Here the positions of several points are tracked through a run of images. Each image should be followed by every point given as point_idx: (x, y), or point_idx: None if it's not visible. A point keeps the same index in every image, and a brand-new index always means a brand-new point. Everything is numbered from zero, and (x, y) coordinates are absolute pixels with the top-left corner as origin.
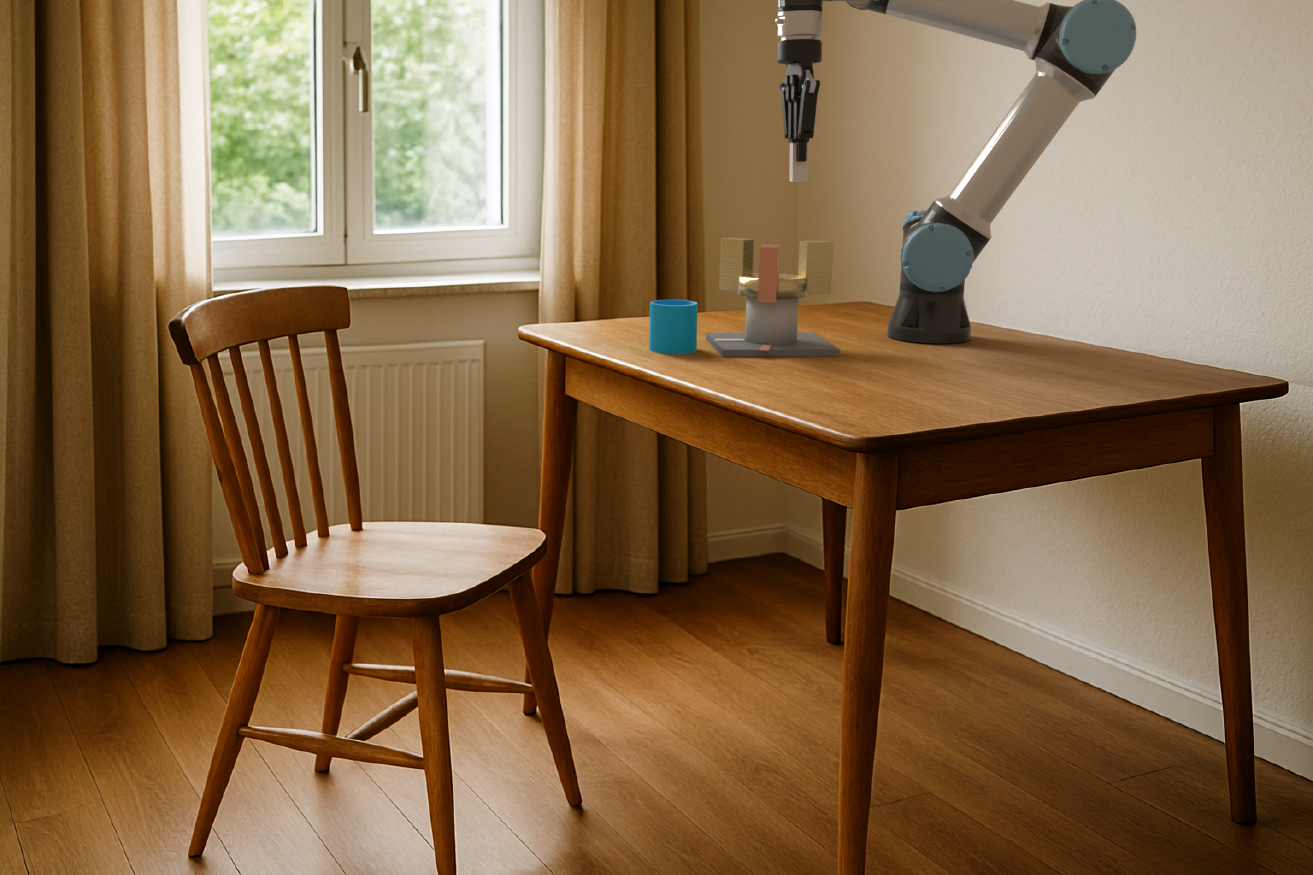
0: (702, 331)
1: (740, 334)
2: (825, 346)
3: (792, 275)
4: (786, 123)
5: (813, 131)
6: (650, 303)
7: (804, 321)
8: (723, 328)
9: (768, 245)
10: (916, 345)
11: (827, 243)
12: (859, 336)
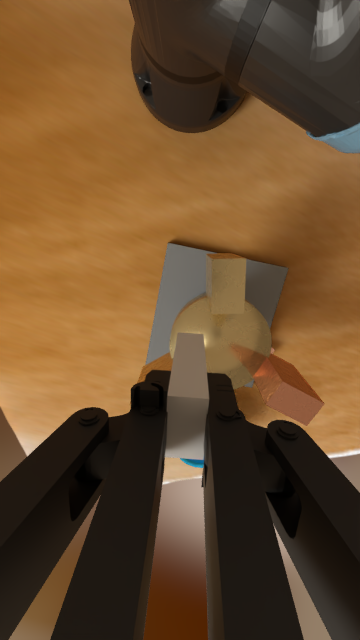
0: (93, 348)
1: (165, 336)
2: (266, 276)
3: (207, 310)
4: (70, 537)
5: (318, 449)
6: (196, 466)
7: (26, 188)
8: (74, 317)
9: (285, 403)
10: (245, 124)
11: (245, 271)
12: (160, 170)
